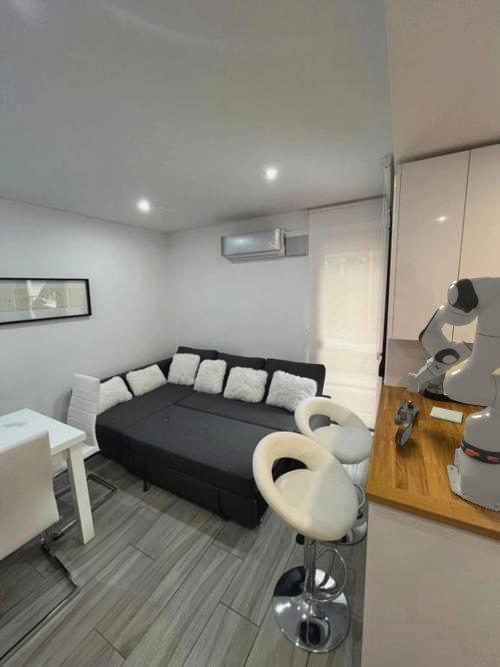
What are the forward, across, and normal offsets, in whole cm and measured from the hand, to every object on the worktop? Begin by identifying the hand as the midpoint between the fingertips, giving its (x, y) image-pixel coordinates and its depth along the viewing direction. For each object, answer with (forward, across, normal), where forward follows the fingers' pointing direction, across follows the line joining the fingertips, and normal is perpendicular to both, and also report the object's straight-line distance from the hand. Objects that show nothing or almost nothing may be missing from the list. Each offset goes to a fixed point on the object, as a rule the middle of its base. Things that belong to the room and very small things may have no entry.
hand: (412, 380), depth 140 cm
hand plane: (+15, +2, +13) cm, 19 cm away
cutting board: (+3, -11, +24) cm, 27 cm away
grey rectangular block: (+3, 0, +4) cm, 5 cm away
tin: (+12, +28, +16) cm, 35 cm away
